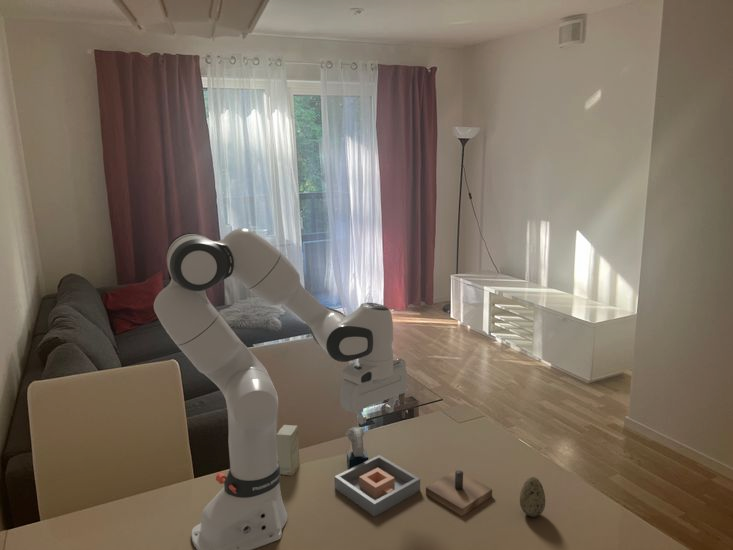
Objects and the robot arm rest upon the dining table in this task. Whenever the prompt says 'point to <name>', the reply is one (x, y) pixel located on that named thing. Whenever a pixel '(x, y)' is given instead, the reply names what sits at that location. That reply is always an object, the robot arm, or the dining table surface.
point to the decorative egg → (532, 497)
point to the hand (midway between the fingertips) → (375, 417)
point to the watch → (356, 447)
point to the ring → (377, 489)
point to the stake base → (459, 492)
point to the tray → (403, 482)
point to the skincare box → (288, 449)
